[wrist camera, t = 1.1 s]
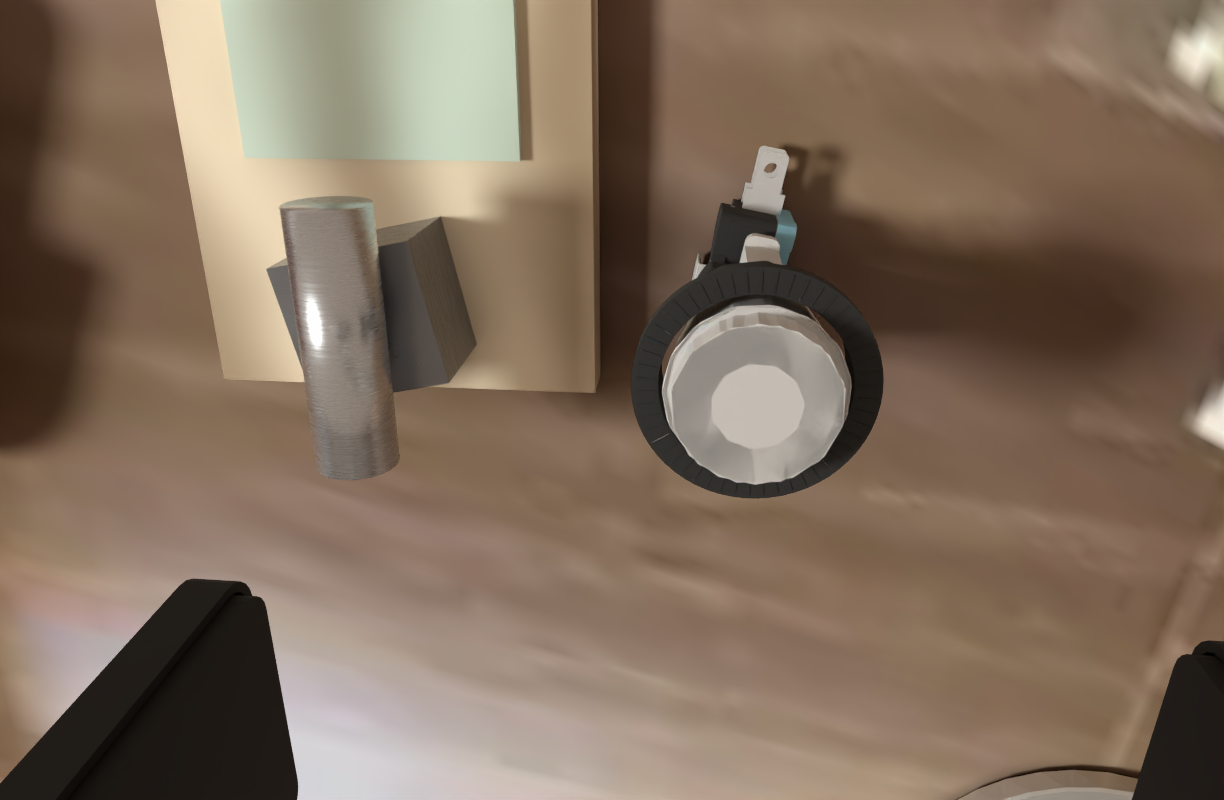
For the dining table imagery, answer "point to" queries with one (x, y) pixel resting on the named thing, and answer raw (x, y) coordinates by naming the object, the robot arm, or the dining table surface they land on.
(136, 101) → the dining table surface
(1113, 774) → the robot arm
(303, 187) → the board
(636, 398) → the push button
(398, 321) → the cylinder and cube
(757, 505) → the dining table surface
